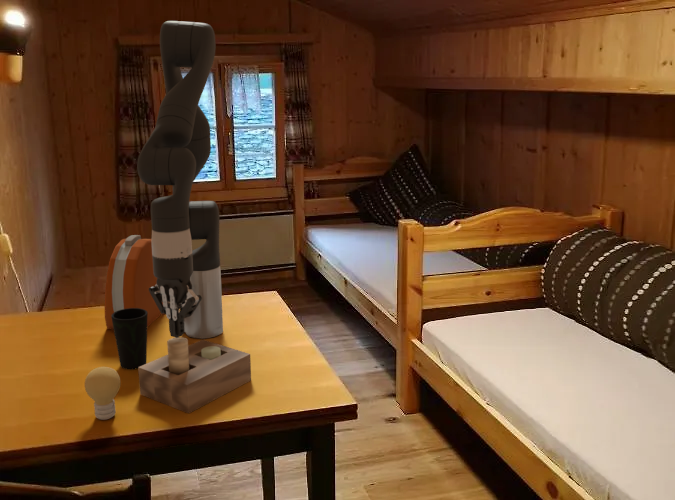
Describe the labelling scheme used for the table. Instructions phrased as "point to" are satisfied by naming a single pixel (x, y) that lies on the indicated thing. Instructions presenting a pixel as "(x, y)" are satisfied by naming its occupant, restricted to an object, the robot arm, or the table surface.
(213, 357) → the peg sage
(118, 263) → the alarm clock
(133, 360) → the cup
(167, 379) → the socket block
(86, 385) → the light bulb
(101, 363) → the table surface
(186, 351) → the peg birch
